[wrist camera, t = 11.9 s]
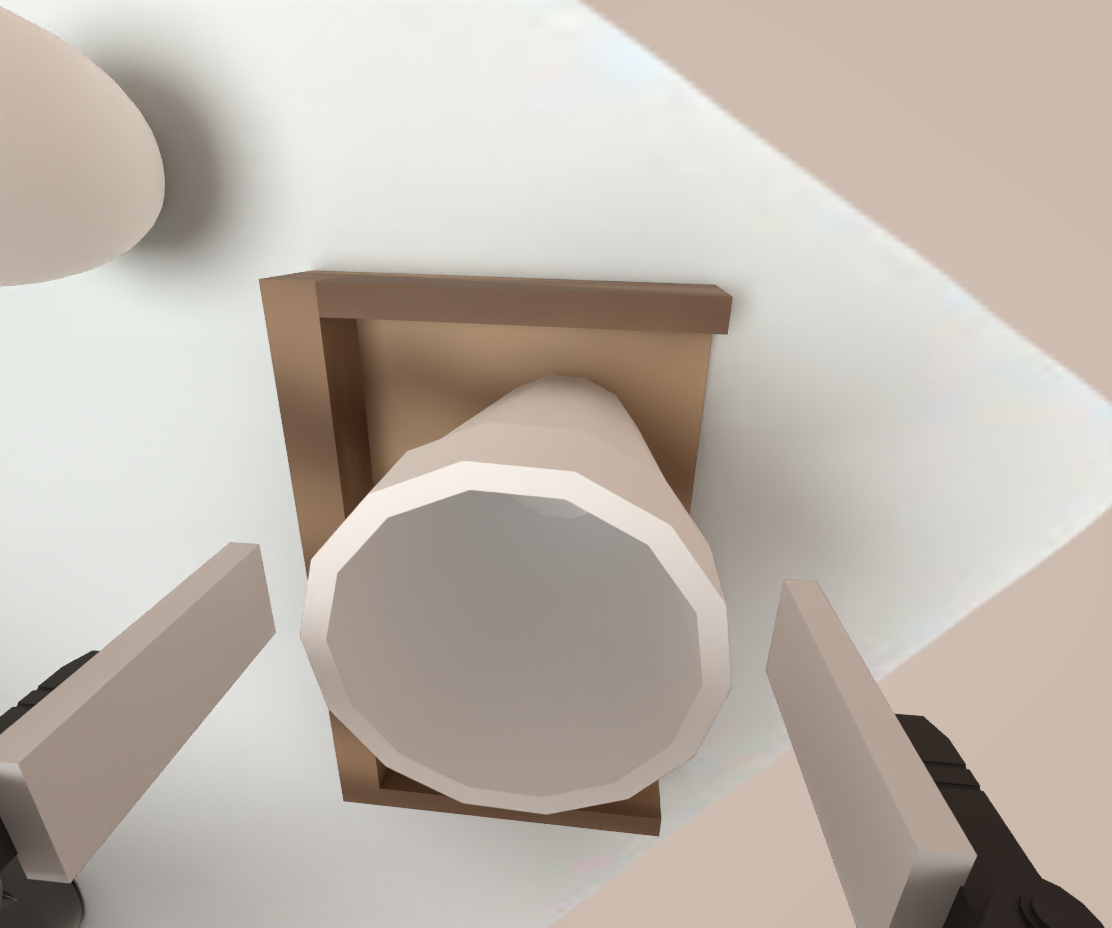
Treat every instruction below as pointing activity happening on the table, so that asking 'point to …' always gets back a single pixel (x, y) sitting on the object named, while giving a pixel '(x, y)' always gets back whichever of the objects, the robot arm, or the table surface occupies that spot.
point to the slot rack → (470, 414)
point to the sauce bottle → (68, 160)
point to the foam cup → (523, 610)
